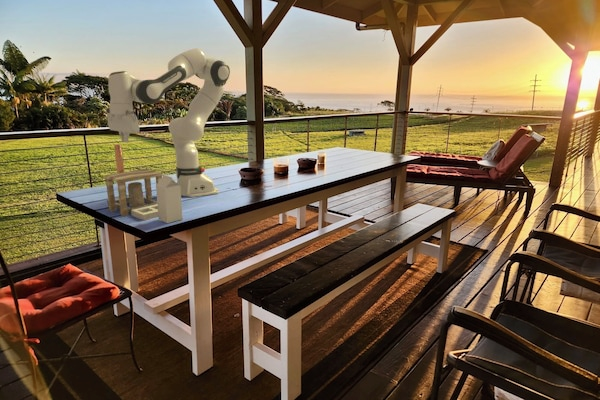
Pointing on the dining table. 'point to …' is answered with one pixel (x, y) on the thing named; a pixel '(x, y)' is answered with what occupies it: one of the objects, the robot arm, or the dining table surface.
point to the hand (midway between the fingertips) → (125, 142)
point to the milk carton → (169, 200)
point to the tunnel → (120, 180)
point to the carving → (135, 194)
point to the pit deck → (146, 212)
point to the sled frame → (120, 170)
